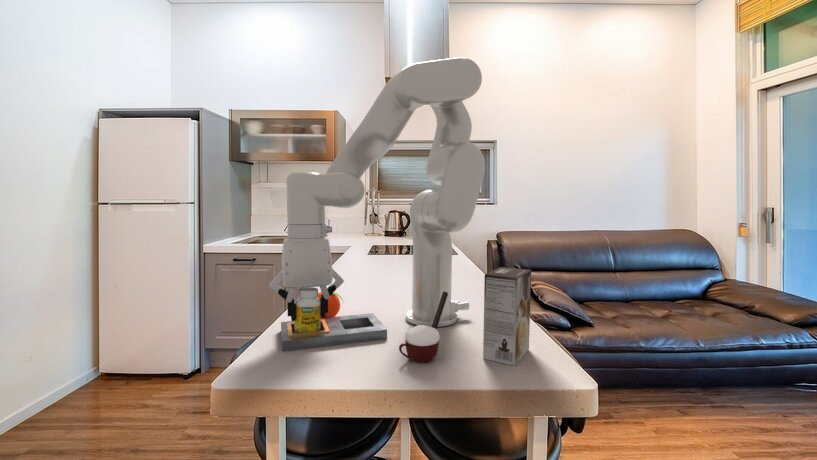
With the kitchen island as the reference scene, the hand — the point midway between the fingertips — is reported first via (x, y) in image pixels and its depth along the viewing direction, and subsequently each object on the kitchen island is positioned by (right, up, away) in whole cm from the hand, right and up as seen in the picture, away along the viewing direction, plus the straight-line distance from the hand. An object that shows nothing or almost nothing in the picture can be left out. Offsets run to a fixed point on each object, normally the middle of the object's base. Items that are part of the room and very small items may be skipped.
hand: (308, 316), depth 80 cm
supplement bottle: (0, -4, 0) cm, 4 cm away
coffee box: (+40, -6, -8) cm, 41 cm away
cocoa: (+24, -6, -10) cm, 27 cm away
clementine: (+2, -4, +13) cm, 13 cm away
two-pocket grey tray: (+5, -4, +2) cm, 7 cm away
